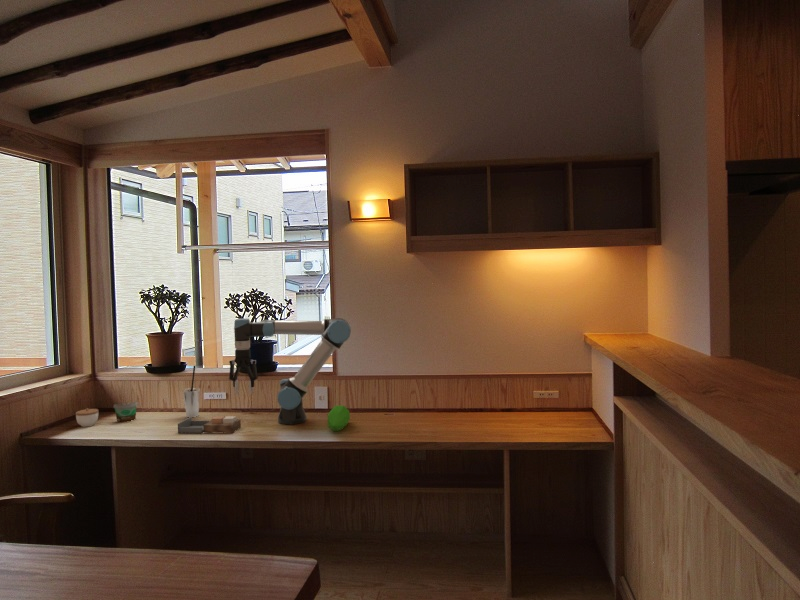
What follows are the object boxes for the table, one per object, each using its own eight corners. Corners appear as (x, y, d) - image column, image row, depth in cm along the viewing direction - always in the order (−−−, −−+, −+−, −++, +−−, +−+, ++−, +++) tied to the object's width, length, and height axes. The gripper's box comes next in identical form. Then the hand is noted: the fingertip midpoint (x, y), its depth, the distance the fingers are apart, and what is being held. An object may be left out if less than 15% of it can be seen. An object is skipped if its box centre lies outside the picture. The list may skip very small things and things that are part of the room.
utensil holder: (196, 419, 298) (194, 365, 297) (178, 418, 301) (176, 365, 299) (207, 414, 309) (205, 362, 308) (189, 413, 311) (187, 362, 310)
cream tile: (236, 421, 278) (236, 416, 278) (232, 423, 273) (232, 418, 273) (227, 420, 279) (226, 416, 279) (223, 423, 274) (222, 418, 274)
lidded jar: (86, 428, 283) (85, 411, 283) (71, 427, 287) (70, 409, 286) (103, 423, 294) (103, 406, 293) (88, 422, 297) (88, 405, 297)
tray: (213, 426, 284) (212, 416, 283) (201, 433, 271) (201, 423, 270) (190, 426, 285) (190, 416, 285) (178, 433, 272) (177, 423, 271)
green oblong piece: (346, 399, 288) (339, 410, 258) (355, 418, 288) (348, 432, 258) (327, 407, 288) (317, 420, 258) (335, 426, 288) (327, 441, 258)
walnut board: (240, 427, 281) (240, 419, 281) (232, 433, 270) (232, 425, 270) (213, 426, 283) (212, 419, 282) (203, 432, 272) (203, 425, 271)
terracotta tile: (225, 420, 279) (225, 416, 279) (221, 423, 274) (221, 418, 274) (215, 420, 279) (215, 416, 279) (211, 423, 274) (211, 418, 274)
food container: (116, 424, 291) (115, 405, 291) (113, 421, 296) (113, 404, 296) (140, 420, 299) (140, 402, 299) (138, 417, 304) (137, 400, 304)
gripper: (220, 349, 271) (222, 395, 272) (258, 349, 269) (260, 395, 270) (226, 347, 278) (228, 391, 279) (263, 347, 277) (265, 391, 277)
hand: (244, 393), depth 275 cm, fingers open, 7 cm apart
